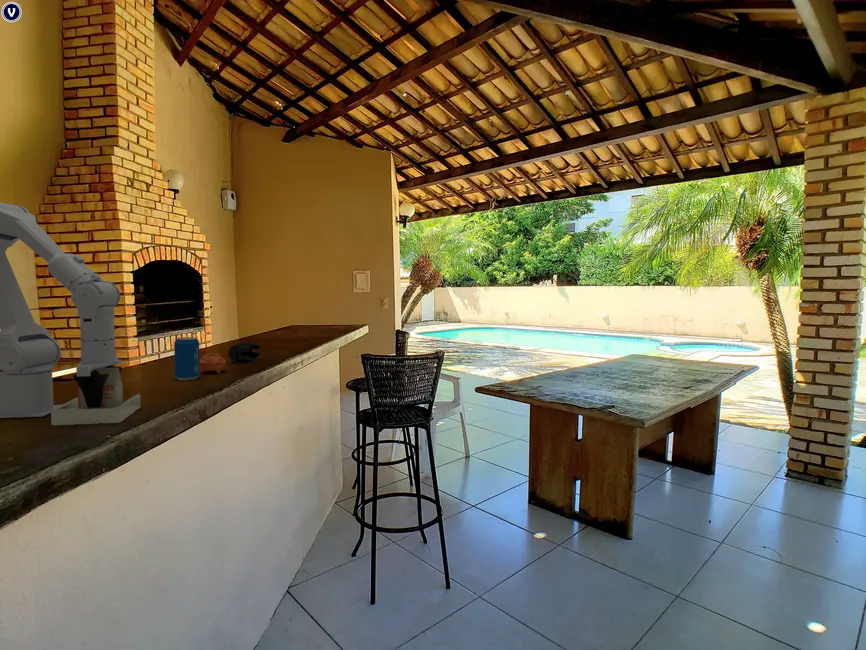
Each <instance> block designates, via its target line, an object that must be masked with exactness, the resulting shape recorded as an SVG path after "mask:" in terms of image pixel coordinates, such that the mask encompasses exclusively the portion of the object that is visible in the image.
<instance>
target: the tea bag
mask: <svg viewBox="0 0 866 650" xmlns="http://www.w3.org/2000/svg"><path fill="white" fill-rule="evenodd" d="M98 373H100V374H109V376H108V378H107V380H106V382H105V385H104V389H103V397H102V404H101V407H99V408H105V407H118V406H119V405H121V404H122V403H124V390H123V389H124V385H123V382H122V377H121V372H119V368H101V370H98ZM77 397H78V408H88V407H87V404H86V402H85V398H84V396H83V393H82V391H81V389H80V387H79V385H78V387H77Z"/></svg>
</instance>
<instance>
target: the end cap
mask: <svg viewBox="0 0 866 650" xmlns="http://www.w3.org/2000/svg"><path fill="white" fill-rule="evenodd" d="M253 350H260V344H259V343H250V341H247V342H242V343H239V344H234V345H232V346H230V348H229V349H228V350H227V351H228V358H229V359H230V361H232V362H233V363H234V364H237V365H250V364H252V362H253V363H255V361H256V362H258V360H259V361H260V357H261V356H260V355H261V354H260V352H259V351H253ZM249 363H250V364H249Z"/></svg>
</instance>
